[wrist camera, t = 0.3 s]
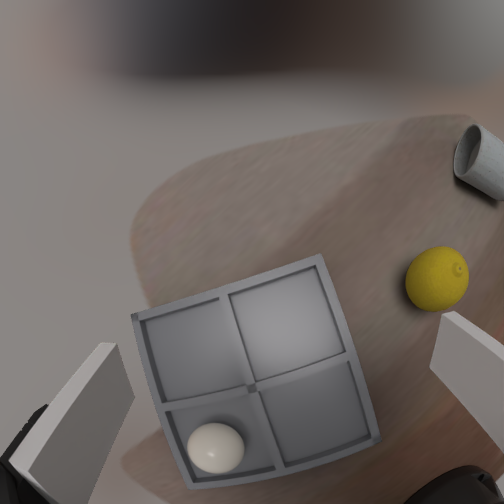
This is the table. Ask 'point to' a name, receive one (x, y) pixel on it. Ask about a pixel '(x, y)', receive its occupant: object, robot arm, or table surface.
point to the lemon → (437, 279)
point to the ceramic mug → (481, 161)
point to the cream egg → (215, 448)
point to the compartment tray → (259, 373)
